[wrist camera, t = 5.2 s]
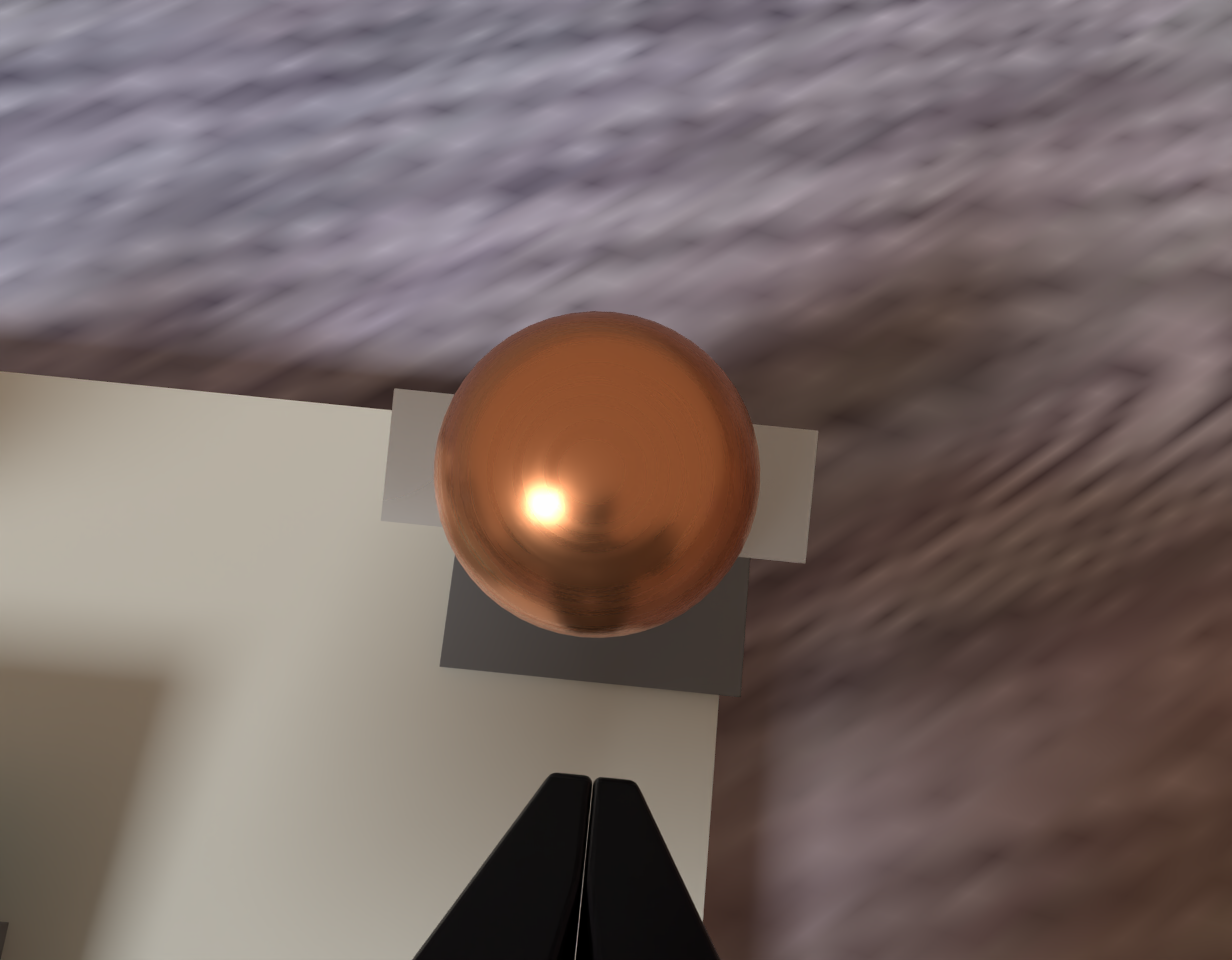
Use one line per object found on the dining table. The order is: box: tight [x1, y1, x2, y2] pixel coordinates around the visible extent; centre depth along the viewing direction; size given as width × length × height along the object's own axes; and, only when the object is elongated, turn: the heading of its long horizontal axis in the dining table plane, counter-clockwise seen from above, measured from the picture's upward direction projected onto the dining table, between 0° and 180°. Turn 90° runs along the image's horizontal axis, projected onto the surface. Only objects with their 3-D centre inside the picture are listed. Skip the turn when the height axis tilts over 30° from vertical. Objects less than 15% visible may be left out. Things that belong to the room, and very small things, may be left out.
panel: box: [0, 371, 750, 960], centre depth 14 cm, size 16×20×3 cm
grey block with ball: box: [381, 311, 819, 638], centre depth 10 cm, size 2×4×9 cm, turn 84°
